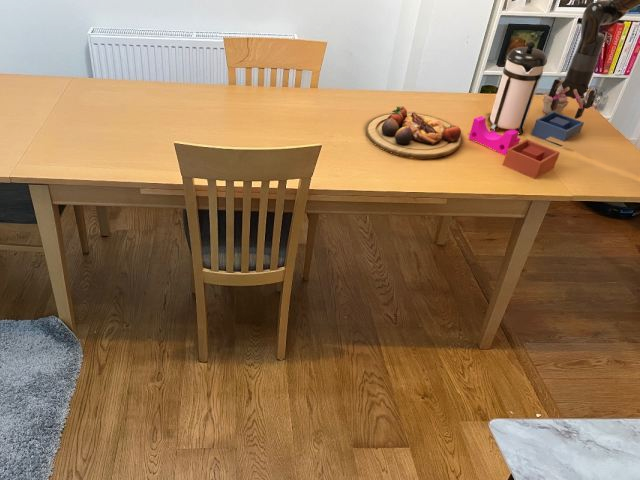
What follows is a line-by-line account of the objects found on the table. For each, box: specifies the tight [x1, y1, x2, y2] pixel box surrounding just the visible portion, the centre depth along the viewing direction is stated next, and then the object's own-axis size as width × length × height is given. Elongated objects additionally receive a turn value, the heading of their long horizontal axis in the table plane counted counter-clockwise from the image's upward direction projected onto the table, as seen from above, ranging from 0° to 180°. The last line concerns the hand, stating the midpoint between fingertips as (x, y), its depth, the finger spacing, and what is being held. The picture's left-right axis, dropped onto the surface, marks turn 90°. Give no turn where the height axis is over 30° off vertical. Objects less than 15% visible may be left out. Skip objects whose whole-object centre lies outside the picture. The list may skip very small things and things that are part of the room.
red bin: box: [502, 138, 561, 180], centre depth 188 cm, size 12×12×6 cm
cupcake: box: [542, 86, 570, 115], centre depth 220 cm, size 9×9×10 cm
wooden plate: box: [366, 106, 462, 159], centre depth 201 cm, size 32×32×8 cm
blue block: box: [549, 117, 570, 130], centre depth 206 cm, size 5×5×5 cm
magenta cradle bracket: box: [468, 115, 521, 156], centre depth 199 cm, size 15×6×8 cm, turn 37°
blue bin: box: [530, 112, 585, 147], centre depth 206 cm, size 12×12×6 cm
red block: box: [521, 146, 545, 161], centre depth 188 cm, size 5×5×5 cm
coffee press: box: [488, 41, 548, 136], centre depth 204 cm, size 17×16×30 cm
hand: (564, 114), depth 201 cm, fingers open, 8 cm apart
